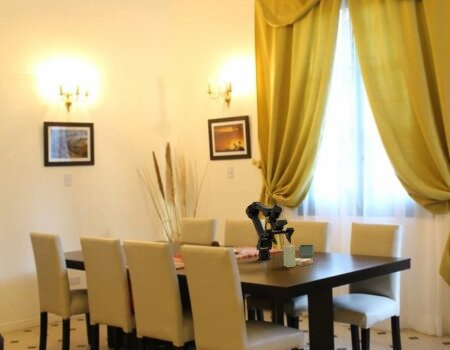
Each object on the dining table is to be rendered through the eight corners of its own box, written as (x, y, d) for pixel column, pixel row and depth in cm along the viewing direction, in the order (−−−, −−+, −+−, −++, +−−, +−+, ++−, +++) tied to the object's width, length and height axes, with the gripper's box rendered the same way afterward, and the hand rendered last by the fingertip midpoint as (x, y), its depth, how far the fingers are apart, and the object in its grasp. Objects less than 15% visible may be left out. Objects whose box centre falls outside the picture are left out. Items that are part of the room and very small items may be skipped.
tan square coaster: (287, 265, 374) (287, 260, 374) (297, 262, 383) (297, 257, 383) (304, 266, 367) (304, 261, 367) (313, 263, 376) (313, 258, 376)
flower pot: (313, 261, 384) (313, 246, 384) (299, 261, 386) (298, 246, 386) (314, 259, 393) (313, 244, 393) (300, 259, 395) (299, 244, 395)
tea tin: (283, 266, 368) (283, 245, 368) (291, 265, 370) (290, 245, 370) (287, 267, 363) (287, 246, 363) (295, 266, 365) (295, 245, 365)
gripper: (264, 215, 374) (273, 235, 364) (292, 214, 381) (301, 233, 371) (259, 228, 382) (268, 248, 371) (286, 226, 389) (296, 245, 378)
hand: (283, 243), depth 373 cm, fingers open, 9 cm apart
